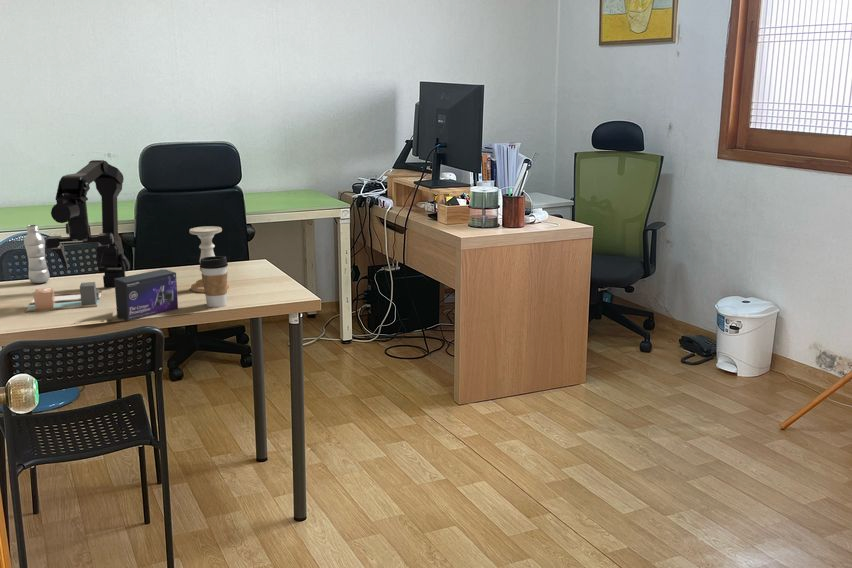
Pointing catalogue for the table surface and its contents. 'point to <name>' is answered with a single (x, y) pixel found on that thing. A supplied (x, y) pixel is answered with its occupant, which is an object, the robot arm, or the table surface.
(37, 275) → the plastic bottle
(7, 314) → the table surface
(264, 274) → the table surface
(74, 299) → the lane rails
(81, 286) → the strip
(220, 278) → the coffee cup
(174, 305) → the box
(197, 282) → the candle holder
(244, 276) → the table surface
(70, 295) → the strip
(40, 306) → the cube
